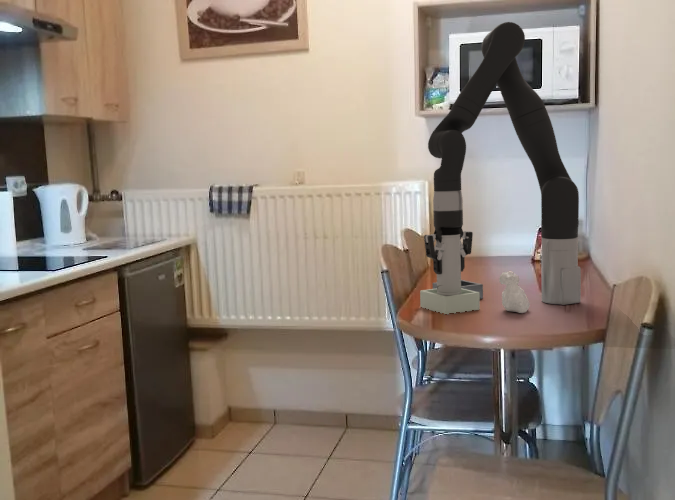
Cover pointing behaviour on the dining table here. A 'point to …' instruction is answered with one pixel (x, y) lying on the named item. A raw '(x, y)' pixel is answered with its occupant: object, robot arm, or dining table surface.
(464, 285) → the sleeve
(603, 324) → the dining table surface
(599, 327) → the dining table surface
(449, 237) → the travel mug
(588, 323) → the dining table surface
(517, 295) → the bust
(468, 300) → the tray
